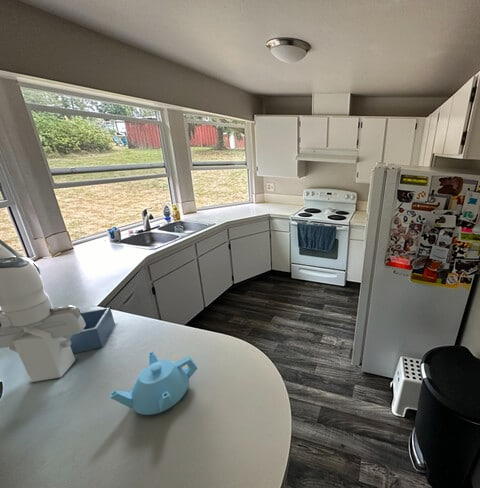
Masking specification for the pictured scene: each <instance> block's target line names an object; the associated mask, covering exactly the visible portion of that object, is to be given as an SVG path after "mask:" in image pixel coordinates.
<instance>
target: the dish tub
mask: <svg viewBox="0 0 480 488" xmlns="http://www.w3.org/2000/svg"><path fill="white" fill-rule="evenodd" d="M80 313H81V316H82V317H83V319H84V321H85V324H86V325H85V327H84V329H83V330H82V331H81V332H80V333H78V334H73V335H72V337H71V339H70V341H71V345H70V347H71V350H72V352H73V354H78V353H82V352H86V351H91V350H96V349H101V348H103V347H104V345H105V344H106V342H107V340H108V338H109V336H110V335H111V333H112V331H113V330H114V328H115V325H116V322H115V319H114V316H113V312H112V309H111V307H105V308H104V307H103V308H99V309H92V310H86V311H80Z"/></svg>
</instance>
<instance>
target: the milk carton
mask: <svg viewBox="0 0 480 488" xmlns="http://www.w3.org/2000/svg"><path fill="white" fill-rule="evenodd" d="M23 330H24V332H23V333H22V334H21V335H20V336H19V337H18V338H17V339H15V340H14V341H13V344H14V346H15V348H16V350H17V352H18V353H17V352H16V353H17V354H18V356H19V359H20V361H21V364H22V365H23V367H24V369H25V371H26V373H27V375H28V376H29V379H30V381H31V382H32V383H34V382H40V381H41V382H42V381H47V380H52V379H58V378H59V379H60V378H62V377H63V376H64V375H65V373H67V371H68V370H69V369H70V367H71V366H73V364H74V363H75V362H76V358H75V355H74V353H73V352H72V350H71V347H65V348H62V345H61V343H62V342H63V341H64V340H66V339H64V338H63V337H58V338H52V336H51V333H49V332H45V331H42V330H39V329H37V328H34V327H30V328H25V327H24V328H23ZM26 332H28V333H31V334H33V335H28V336H23V337H21V336H22V335H23V334H24V333H26Z"/></svg>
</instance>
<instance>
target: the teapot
mask: <svg viewBox="0 0 480 488" xmlns="http://www.w3.org/2000/svg"><path fill="white" fill-rule="evenodd" d="M148 357H149V363H148V364H149V365H147V366H145V368H143V369H142V370H141V372H140V373H139V374H138V376H137V378H136V380H135V382H134V383H133V386H132V388H131V390H130V391H123V390H118V389H116V390H114V391H113V392H111V393H110V394H109V397H110V399H112V400H114V401H116V402H118V403H119V404H121V405H123V406H125V407H127V408H129V409H132V410H133V411H134V412H135V413H137V414H139V415H144V416H150V415H157V414H160V413H163V412H165V411H167V410H169V409H171V408H172V407H174V406H175V405H176V404H177V403H178V402H180V400H181V399H182V398H183V397H184V396H185V394H186V393H187V390H188V388H189V386H190V379H191V377H192V376H193V375H194V373H195V372H196V371H197V370H198V365H197V364H196V362H195V361H194V360H193V359H192V357H191V356H190V355H187V356H185V357H183V358H181V359H180V360H178V361H176V362H175V361H173V360H169V359H163V360H162V359H161V360H159V359H158V357H157V355H156V353H155V352H154V351H151V352H149V353H148ZM186 365H187V368H186V369H184V367H185V366H186Z"/></svg>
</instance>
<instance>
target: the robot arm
mask: <svg viewBox="0 0 480 488" xmlns="http://www.w3.org/2000/svg"><path fill="white" fill-rule="evenodd" d="M44 283H45V282H44V281H43V279H42V275H41V268H40V267H39V265H38V263H36V262H35V261H33V260H32V259H30V258H28V257H26V256H24V255H23V254H20V253H19V252H18V251H17V250H15V249H13V248H12V247H11V246H10V245H8V244H7V243H6V242H4V241H3V240H2V239H0V349H4V348H9V350H10V351H13V352H15V353H17V354H18V352H17V350H16V348H15V346H14V344H13V341H14V340H15V339H17V338H18V337H19V336H20V335H21V334H22V333H23V332H24V330H23V328H24V327H25V328H30V327H34V328H37V329H39V330H42V331H45V332H49V333H51V336H52V338H58V337H63V338H64V339H66V340H64V341H63V342H62V343H61V345H62V348H65V347H70V345H71V341H70V339H71V337H72V335H73V334H78V333H80V332H81V331H82V330H83V329H84V327H85V325H86V324H85V321H84V319H83V317H82V316H81V313H80V312H81V309H80V308H79V307H77V306H73V305H65V306H58V307H54V306H53V303H52V301H51V299H50V295H49V294H48V293H47V292H46V291H45V288H44V287H45V284H44ZM28 335H33V334H31V333H28V332H26V333H24V334H23V335H22V336H21V337H23V336H28Z"/></svg>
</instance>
